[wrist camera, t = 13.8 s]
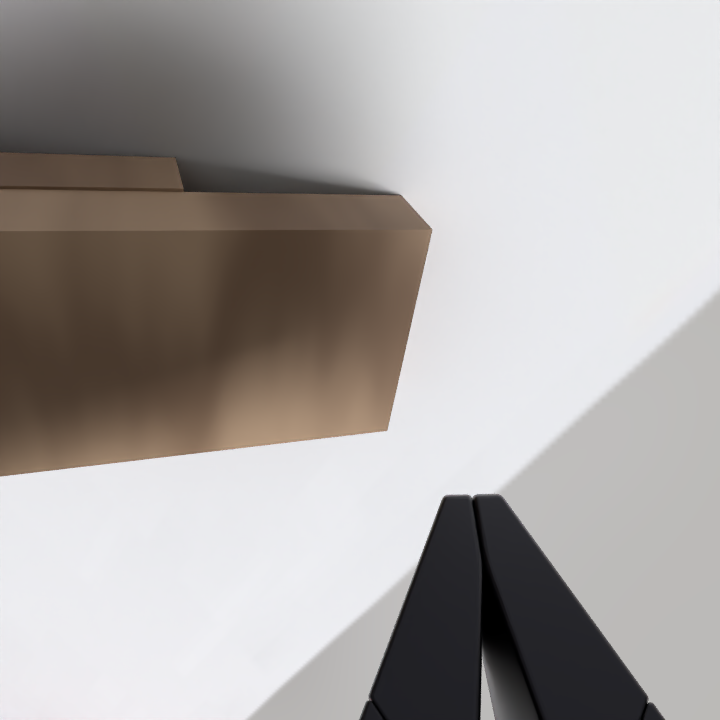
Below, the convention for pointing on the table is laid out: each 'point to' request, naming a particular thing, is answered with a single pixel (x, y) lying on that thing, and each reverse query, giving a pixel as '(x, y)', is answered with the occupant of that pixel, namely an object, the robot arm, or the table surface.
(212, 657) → the table surface
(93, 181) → the domino
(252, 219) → the domino
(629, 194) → the table surface
